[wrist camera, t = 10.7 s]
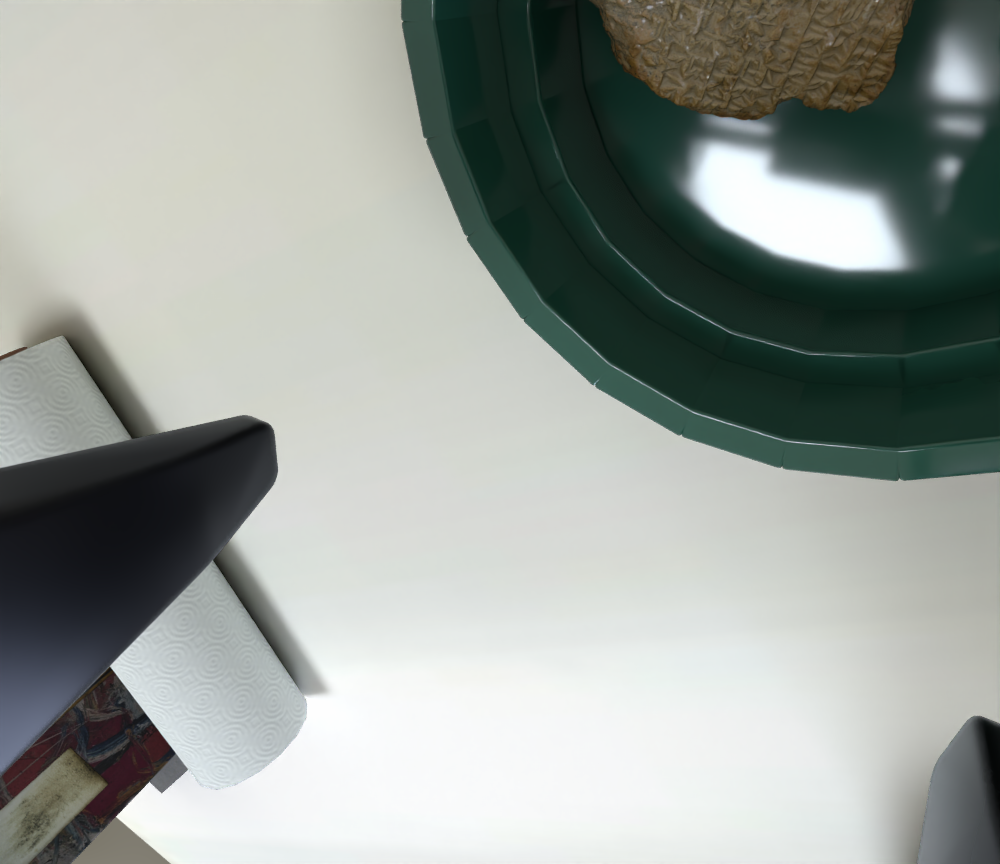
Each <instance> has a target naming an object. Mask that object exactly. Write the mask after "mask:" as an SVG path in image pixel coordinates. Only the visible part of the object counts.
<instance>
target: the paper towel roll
mask: <svg viewBox="0 0 1000 864" xmlns="http://www.w3.org/2000/svg"><path fill="white" fill-rule="evenodd" d="M131 439H132V438H131V437H130V435H129V434H128V432H127V430H126V429H125V427H124V426H123V424H122V423H121V421H120V420H119V418H118V417H117V415H116V414H115V412H114V411H113V409H112V408H111V406H110V405H109V403H108V402H107V400H106V399H105V397H104V396H103V394H102V393H101V391H100V390H99V388H98V387H97V385H96V384H95V382H94V381H93V379H92V378H91V376H90V375H89V373H88V372H87V370H86V369H85V367H84V366H83V364H82V363H81V361H80V360H79V358H78V357H77V355H76V354H75V352H74V351H73V349H72V348H71V346H70V345H69V343H68V342H67V340H66V339H65V337H64V336H59V337H56V338H53V339H50V340H48V341H45V342H43V343H40V344H38V345H35V346H33V347H31V348H27V347H23V348H19V349H17V350H14V351H12V352H9V353H7V354H4V355H2V356H0V468H2V467H7V466H12V465H16V464H21V463H25V462H30V461H35V460H39V459H44V458H48V457H53V456H58V455H62V454H67V453H71V452H76V451H80V450H85V449H90V448H94V447H99V446H103V445H108V444H113V443H117V442H122V441H126V440H131ZM110 667H111V668H112V669H113V671H114V672H115V673H116V675H117V676H118V677H119V679H120V680H121V681H122V683H123V684H124V685H125V687H126V688H127V689H128V691H129V692H130V693H131V695H132V696H133V697H134V699H135V700H136V701H137V702H138V704H139V705H140V706H141V708H142V709H143V710H144V712H145V713H146V714H147V716H148V717H149V718H150V720H151V721H152V722H153V724H154V725H155V726H156V728H157V729H158V730H159V732H160V733H161V734H162V736H163V737H164V738H165V739H166V741H167V742H168V743H169V745H170V746H171V747H172V749H173V750H174V751H175V753H176V754H177V755H178V757H179V758H180V759H181V761H182V762H183V763H184V765H185V766H186V767H187V769H188V770H189V771H190V772H191V774H192V775H193V776H194V778H195V779H196V780H197V782H198V783H199V784H200V785H201V786H203V787H207V788H211V789H216V790H218V789H221V788H225V787H229V786H233V785H237V784H238V783H240V782H242V781H244V780H246V779H247V778H249V777H251V776H253V775H255V774H257V773H258V772H260V771H261V770H262V769H263V768H265V767H266V766H267V765H268V764H270V763H271V762H272V761H273V760H274V759H276V758H277V757H278V756H279V755H281V753H282V752H283V751H284V750H285V749H286V748H287V746H288V745H289V744H290V743H291V742H292V741H293V739H294V738H295V737H296V736H297V734H298V732H299V731H300V729H301V727H302V725H303V723H304V721H305V719H306V712H307V702H306V699H305V698H304V696H303V695H302V693H301V692H300V690H299V689H298V687H297V686H296V684H295V683H294V681H293V680H292V678H291V677H290V675H289V674H288V672H287V671H286V669H285V668H284V666H283V665H282V663H281V662H280V660H279V659H278V657H277V656H276V654H275V653H274V651H273V650H272V648H271V647H270V645H269V644H268V642H267V641H266V639H265V638H264V636H263V635H262V633H261V632H260V630H259V629H258V627H257V626H256V624H255V623H254V621H253V620H252V618H251V617H250V615H249V614H248V612H247V611H246V609H245V608H244V606H243V605H242V603H241V602H240V600H239V599H238V597H237V596H236V594H235V593H234V591H233V590H232V588H231V587H230V585H229V584H228V582H227V581H226V579H225V578H224V576H223V575H222V573H221V572H220V570H219V569H218V567H217V566H216V564H215V563H214V561H212V562H211V563H210V564H209V565H208V566H207V567H206V569H205V570H204V571H203V572H202V573H201V574H200V575H199V576H198V577H197V578H196V579H195V580H194V581H193V582H192V583H191V584H190V585H189V586H188V587H187V588H186V589H185V590H184V591H183V592H182V593H181V594H180V595H179V596H178V597H177V598H176V599H175V600H174V601H173V603H172V604H171V605H170V606H169V607H168V608H167V609H166V610H165V611H164V612H163V613H162V614H161V615H160V616H159V617H158V618H157V619H156V620H155V621H154V622H153V623H152V624H151V625H150V626H149V627H148V628H147V629H146V630H145V631H144V632H143V633H142V634H141V635H140V636H139V637H138V638H137V639H136V640H135V641H134V642H133V643H132V644H131V645H130V646H129V647H128V648H127V649H126V650H125V651H124V652H123V653H122V654H121V655H120V656H119V657H118V658H117V659H116V660H115V661H114V662H113V664H112V665H111V666H110Z"/></svg>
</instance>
